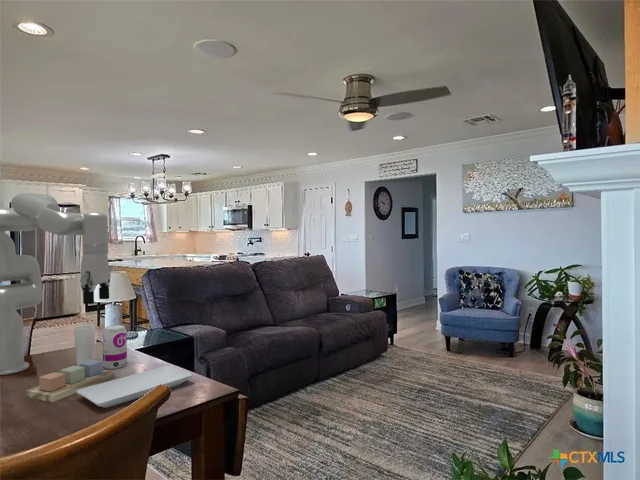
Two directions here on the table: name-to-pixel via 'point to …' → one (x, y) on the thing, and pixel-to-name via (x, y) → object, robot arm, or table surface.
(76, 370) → the key sage
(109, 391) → the tray
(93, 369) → the key slate
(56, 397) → the keypad base
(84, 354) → the drinking glass
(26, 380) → the table surface
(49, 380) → the key terracotta
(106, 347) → the supplement can
